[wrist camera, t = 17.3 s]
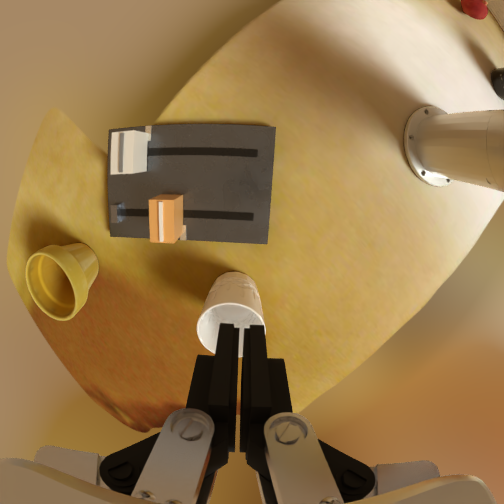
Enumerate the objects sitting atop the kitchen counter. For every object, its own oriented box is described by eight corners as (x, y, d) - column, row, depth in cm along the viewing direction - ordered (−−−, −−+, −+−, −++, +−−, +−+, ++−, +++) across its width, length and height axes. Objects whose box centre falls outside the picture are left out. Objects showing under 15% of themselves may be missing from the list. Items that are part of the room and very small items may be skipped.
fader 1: (148, 133, 30) (133, 129, 26) (146, 171, 32) (131, 173, 27) (127, 134, 30) (110, 132, 26) (126, 171, 32) (109, 174, 27)
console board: (274, 128, 32) (276, 125, 29) (266, 240, 37) (267, 247, 34) (113, 130, 31) (104, 129, 29) (114, 233, 36) (106, 239, 34)
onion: (449, -4, 21) (471, -16, 13) (467, 5, 20) (489, -5, 13) (459, 18, 23) (483, 7, 15) (477, 26, 22) (500, 18, 15)
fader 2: (183, 194, 33) (173, 200, 28) (183, 232, 35) (173, 244, 30) (160, 194, 33) (147, 200, 28) (161, 232, 35) (149, 242, 30)
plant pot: (57, 277, 39) (25, 302, 29) (62, 222, 35) (24, 241, 26) (104, 300, 40) (76, 333, 31) (113, 244, 37) (79, 270, 28)
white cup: (196, 291, 39) (182, 330, 30) (233, 256, 38) (229, 289, 28) (235, 323, 41) (232, 367, 32) (272, 292, 40) (280, 332, 30)
